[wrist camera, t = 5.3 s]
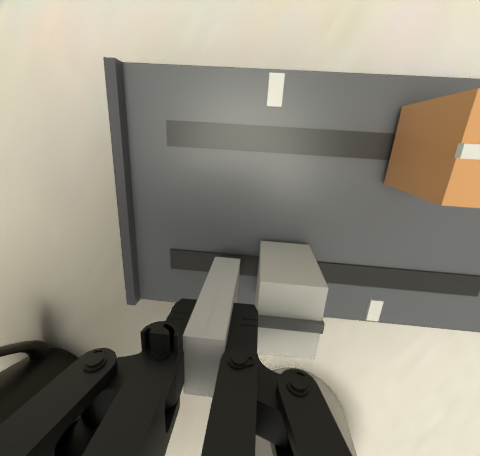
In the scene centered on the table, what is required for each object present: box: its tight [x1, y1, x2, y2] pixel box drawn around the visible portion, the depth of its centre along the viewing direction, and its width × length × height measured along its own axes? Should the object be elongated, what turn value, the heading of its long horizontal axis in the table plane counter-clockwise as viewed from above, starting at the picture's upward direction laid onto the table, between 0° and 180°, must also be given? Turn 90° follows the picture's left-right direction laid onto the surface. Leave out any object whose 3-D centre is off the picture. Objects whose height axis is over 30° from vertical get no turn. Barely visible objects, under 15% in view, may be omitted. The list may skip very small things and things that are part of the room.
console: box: [103, 57, 480, 332], centre depth 16 cm, size 28×15×3 cm, turn 87°
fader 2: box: [384, 88, 480, 208], centre depth 11 cm, size 3×4×5 cm
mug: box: [0, 341, 78, 424], centre depth 20 cm, size 8×12×10 cm
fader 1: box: [255, 241, 328, 359], centre depth 14 cm, size 3×4×5 cm
